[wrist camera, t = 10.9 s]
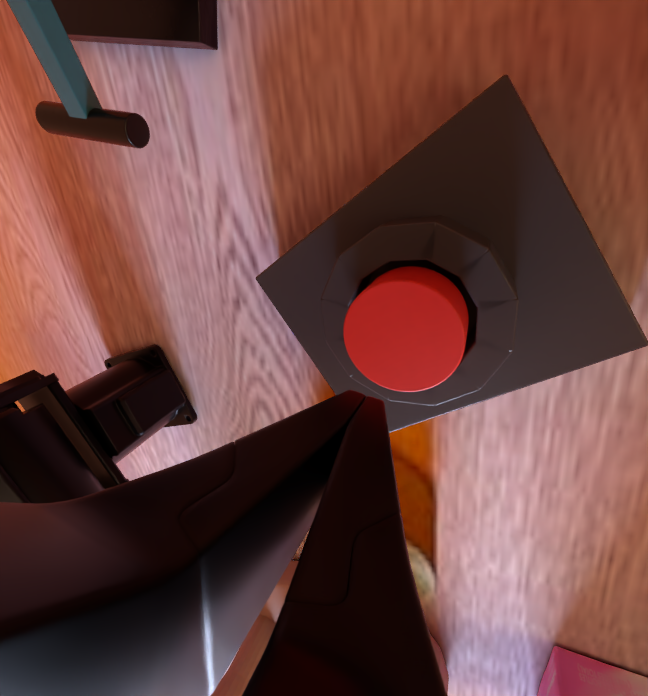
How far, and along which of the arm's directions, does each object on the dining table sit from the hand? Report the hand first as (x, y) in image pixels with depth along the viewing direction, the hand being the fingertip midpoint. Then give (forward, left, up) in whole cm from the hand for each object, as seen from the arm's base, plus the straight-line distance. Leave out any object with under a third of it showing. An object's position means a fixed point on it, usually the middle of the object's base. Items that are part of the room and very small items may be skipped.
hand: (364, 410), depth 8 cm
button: (0, 0, -6) cm, 6 cm away
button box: (0, 0, -10) cm, 10 cm away
